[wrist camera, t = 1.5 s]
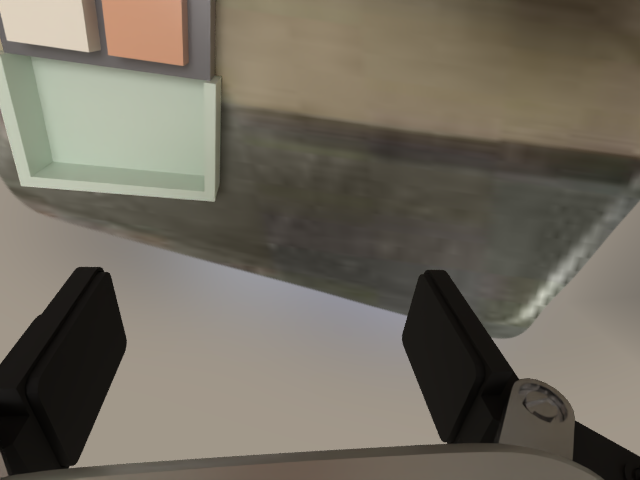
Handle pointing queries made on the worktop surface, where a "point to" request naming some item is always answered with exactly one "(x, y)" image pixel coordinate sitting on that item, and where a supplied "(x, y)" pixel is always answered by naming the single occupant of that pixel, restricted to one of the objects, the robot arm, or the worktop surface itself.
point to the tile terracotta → (147, 30)
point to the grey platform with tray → (115, 116)
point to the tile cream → (52, 23)
